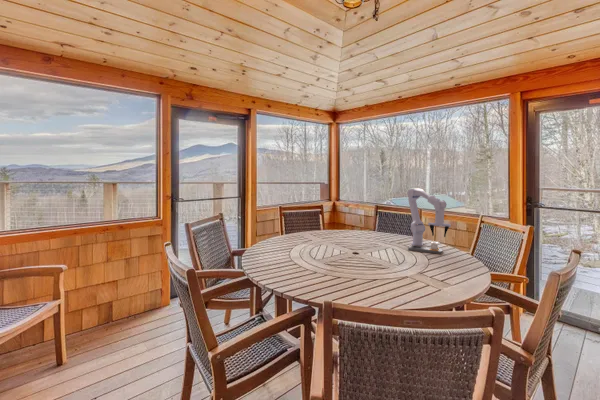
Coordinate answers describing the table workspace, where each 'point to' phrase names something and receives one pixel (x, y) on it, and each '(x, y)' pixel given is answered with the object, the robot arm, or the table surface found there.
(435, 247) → the drilled metal block
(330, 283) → the table surface
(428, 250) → the rail
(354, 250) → the table surface
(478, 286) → the table surface
